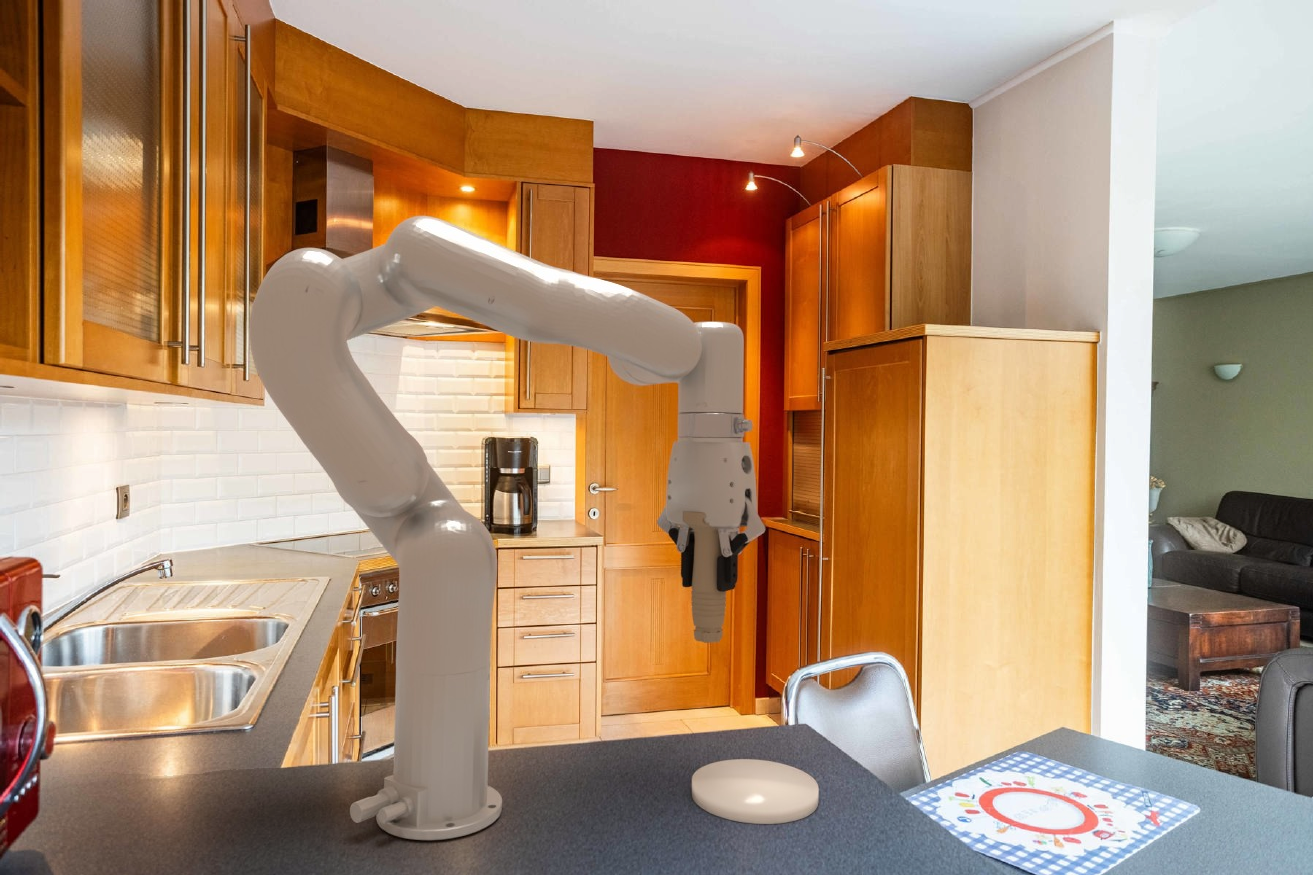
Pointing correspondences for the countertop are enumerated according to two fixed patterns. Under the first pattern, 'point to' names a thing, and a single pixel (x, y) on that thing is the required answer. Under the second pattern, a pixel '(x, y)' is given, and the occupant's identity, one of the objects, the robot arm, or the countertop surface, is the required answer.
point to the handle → (706, 581)
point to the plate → (755, 791)
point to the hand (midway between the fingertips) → (708, 586)
